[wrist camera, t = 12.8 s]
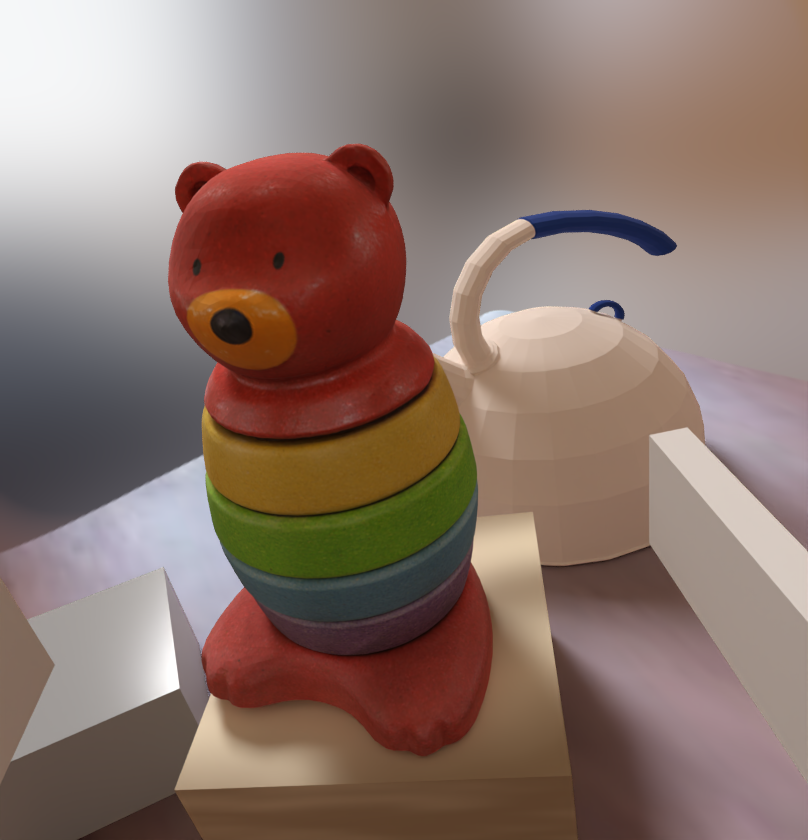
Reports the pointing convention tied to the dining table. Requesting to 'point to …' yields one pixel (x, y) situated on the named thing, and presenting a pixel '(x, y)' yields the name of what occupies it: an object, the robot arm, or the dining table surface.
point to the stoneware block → (106, 713)
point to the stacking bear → (330, 452)
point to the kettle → (564, 401)
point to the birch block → (403, 770)
